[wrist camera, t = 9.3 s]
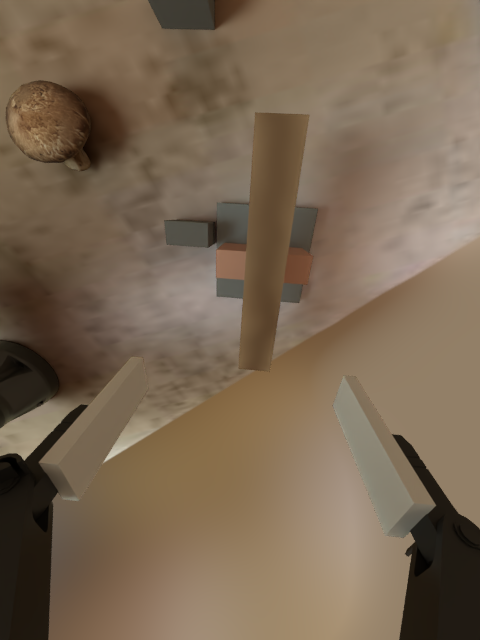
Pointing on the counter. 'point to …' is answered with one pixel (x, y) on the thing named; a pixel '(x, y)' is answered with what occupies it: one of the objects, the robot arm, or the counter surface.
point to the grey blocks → (187, 13)
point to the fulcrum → (235, 242)
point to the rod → (269, 230)
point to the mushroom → (49, 124)
